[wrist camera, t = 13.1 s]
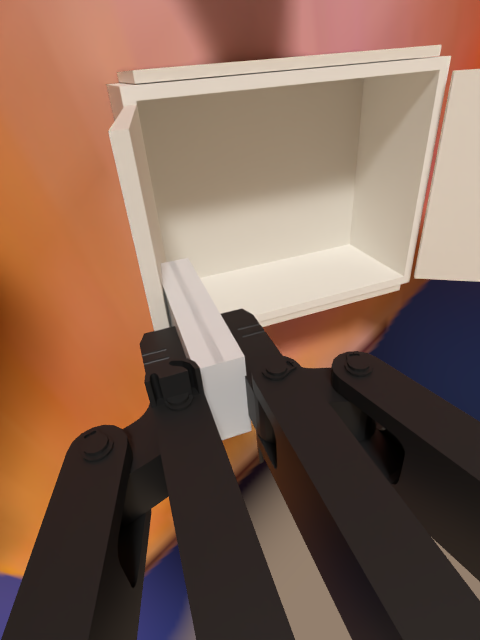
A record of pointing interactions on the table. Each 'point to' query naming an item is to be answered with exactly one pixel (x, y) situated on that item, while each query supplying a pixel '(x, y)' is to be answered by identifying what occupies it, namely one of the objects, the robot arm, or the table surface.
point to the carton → (291, 172)
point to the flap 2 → (455, 189)
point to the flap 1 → (140, 208)
